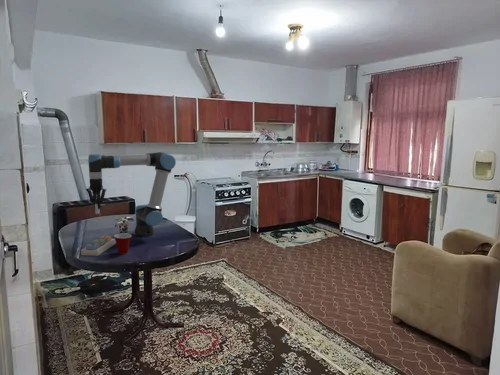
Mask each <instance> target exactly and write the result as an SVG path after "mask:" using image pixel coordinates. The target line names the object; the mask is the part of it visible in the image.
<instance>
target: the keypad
mask: <svg viewBox="0 0 500 375" xmlns="http://www.w3.org/2000/svg"><path fill="white" fill-rule="evenodd" d="M115 245H116V241H115V238H112V237H111V239H110V240H109V241H106V243H104V244H103V245H100V246H99V247H98V248H96V249H86V246H85V247H83V248H82V249H80V254H81V256H97V257H98V256H99V255H102V254H103V253H104V252H105V251H107V250H108V249H110V248H111V247H113V246H115Z"/></svg>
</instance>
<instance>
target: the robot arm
mask: <svg viewBox="0 0 500 375" xmlns="http://www.w3.org/2000/svg"><path fill="white" fill-rule="evenodd" d="M87 162H88V176H89V180H88V181H89V187H87V188H86V189H85V191H87V195H88V197H89V198H88V199H89V201H90V203H91V204H93V209H95V210H94V211H95V215H99V214H100V209H101V208H102V207H101V206H102V205H101V204H103V203H104V201H105V195H106V191H107V188H104V186H103V173H102V171H103V170H104V169H105V170H106V169H118V168H120V167H126V166H127V167H128V166H147V167H153V168H154V170H155V172H156V173H155V176H154V181H153V184H152V188H151V191H150V192H151V193H150V197H149V201H148V204H140V205H136V207H135V210H134V211H135V222H136V223H135V228H134V231H133V235H134V236H135V237H139V238H147V237H151V236H154V235H155V234H156V232H155V228H154V227H156V226H158V225H160V224H161V223H162V221H163V213H162V210H163V207H162V202H163V197H164V195H165V194H164V192H165V189H166V186H167V185H166V184H167V180H168V176H169V175H170V174H171V173H172V170H173V169H174V168H175V167H176V163H177V162H176V158H175V156H174V155H173V154H171V153H168V152H162V151H160V152H151V153H150V152H149V153H145V154H127V155H126V154H121V155H120V154H119V155H105V154H103V155H101V154H99V153H98V154H97V153H93V154H88V161H87ZM102 169H103V170H102Z"/></svg>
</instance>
